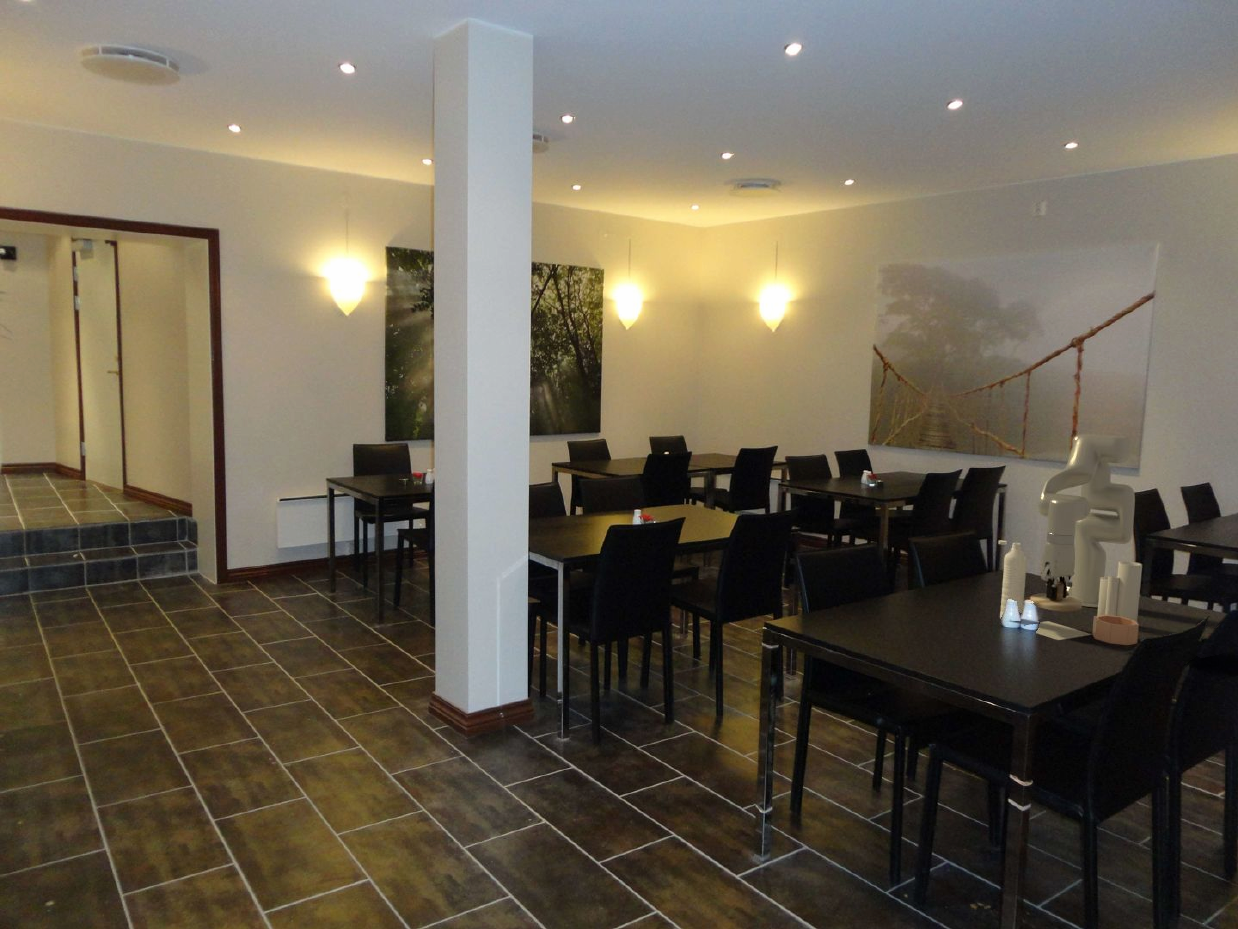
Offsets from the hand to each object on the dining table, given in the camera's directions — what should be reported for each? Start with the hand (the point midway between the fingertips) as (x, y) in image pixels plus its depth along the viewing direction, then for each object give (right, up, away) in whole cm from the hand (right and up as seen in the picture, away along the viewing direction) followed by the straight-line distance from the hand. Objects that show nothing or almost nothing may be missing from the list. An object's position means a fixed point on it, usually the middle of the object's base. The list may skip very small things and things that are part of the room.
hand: (1056, 597), depth 266 cm
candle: (+24, -10, +11) cm, 29 cm away
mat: (-1, -11, +1) cm, 11 cm away
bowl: (+14, -12, -7) cm, 19 cm away
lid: (0, -2, 0) cm, 2 cm away
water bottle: (-9, -9, +13) cm, 18 cm away
